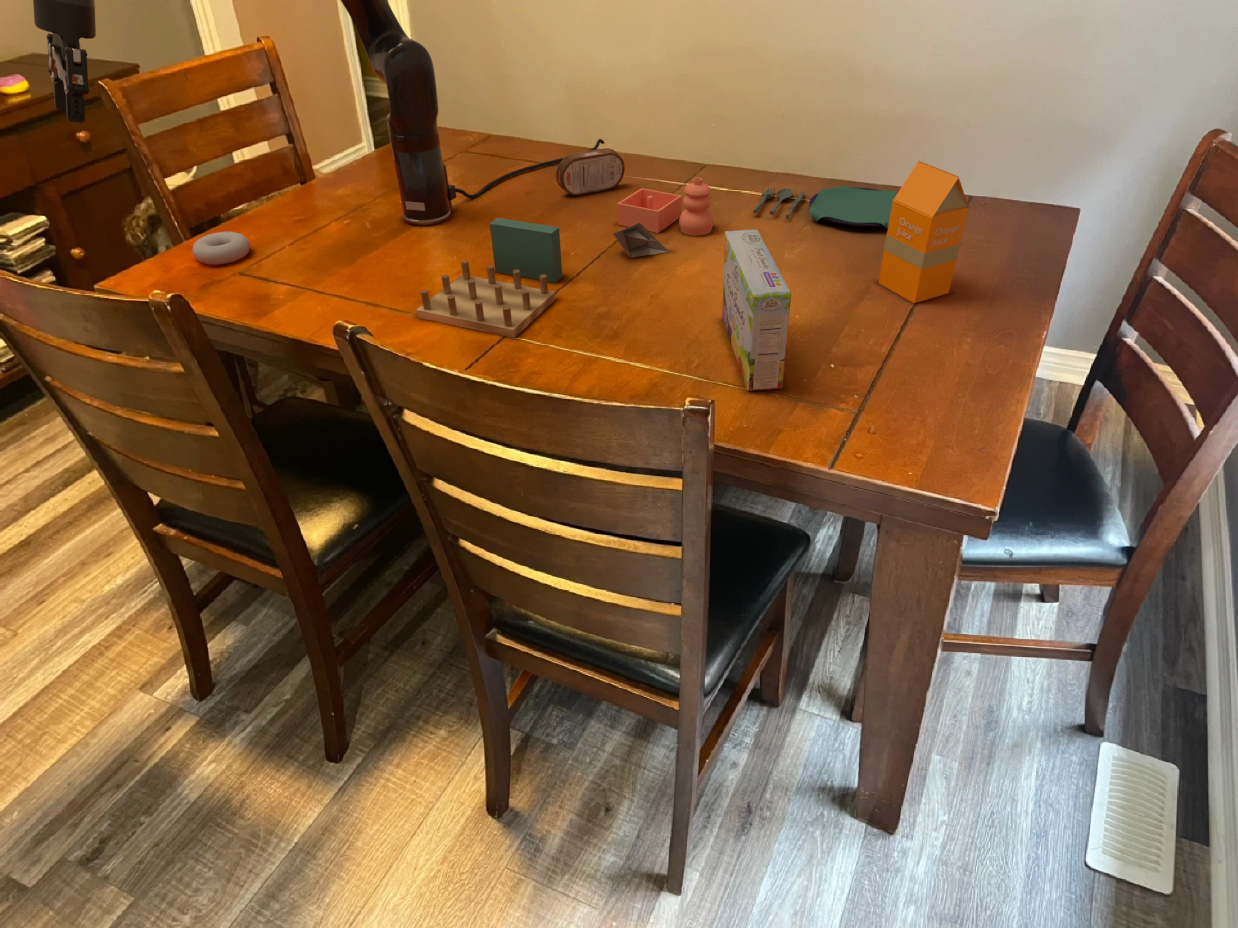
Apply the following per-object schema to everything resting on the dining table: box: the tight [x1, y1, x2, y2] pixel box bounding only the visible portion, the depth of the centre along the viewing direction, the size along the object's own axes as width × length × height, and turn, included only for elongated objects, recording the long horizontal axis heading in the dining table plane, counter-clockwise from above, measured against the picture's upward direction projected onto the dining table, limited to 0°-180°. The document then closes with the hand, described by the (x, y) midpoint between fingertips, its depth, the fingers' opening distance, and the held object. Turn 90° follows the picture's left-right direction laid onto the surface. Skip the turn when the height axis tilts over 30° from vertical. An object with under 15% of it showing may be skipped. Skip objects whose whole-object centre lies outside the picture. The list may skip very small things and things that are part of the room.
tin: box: [555, 147, 626, 196], centre depth 180 cm, size 15×3×8 cm, turn 115°
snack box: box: [721, 228, 792, 392], centre depth 123 cm, size 21×6×15 cm, turn 5°
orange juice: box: [877, 160, 970, 304], centre depth 137 cm, size 8×9×20 cm
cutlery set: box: [752, 185, 898, 229], centre depth 170 cm, size 20×30×2 cm, turn 69°
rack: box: [415, 259, 556, 339], centre depth 139 cm, size 14×18×4 cm
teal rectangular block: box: [489, 217, 563, 284], centre depth 148 cm, size 3×12×9 cm, turn 66°
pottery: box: [616, 177, 714, 237], centre depth 164 cm, size 18×10×10 cm, turn 59°
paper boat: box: [612, 223, 670, 258], centre depth 154 cm, size 12×6×9 cm
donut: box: [191, 231, 251, 266], centre depth 158 cm, size 10×4×10 cm
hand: (69, 115), depth 130 cm, fingers open, 8 cm apart
